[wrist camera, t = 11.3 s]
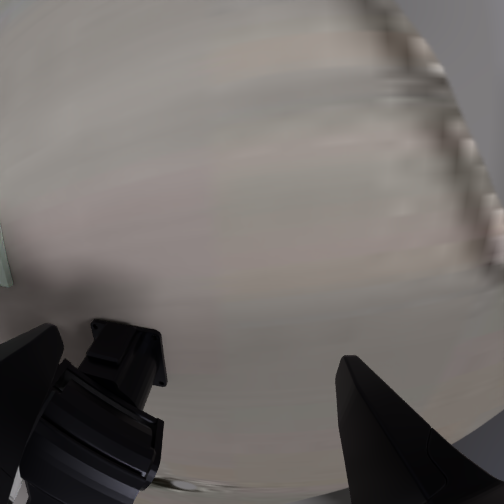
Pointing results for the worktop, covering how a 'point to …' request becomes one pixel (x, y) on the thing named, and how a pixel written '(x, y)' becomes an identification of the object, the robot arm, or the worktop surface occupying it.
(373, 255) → the worktop surface
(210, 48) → the worktop surface
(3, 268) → the sage board
